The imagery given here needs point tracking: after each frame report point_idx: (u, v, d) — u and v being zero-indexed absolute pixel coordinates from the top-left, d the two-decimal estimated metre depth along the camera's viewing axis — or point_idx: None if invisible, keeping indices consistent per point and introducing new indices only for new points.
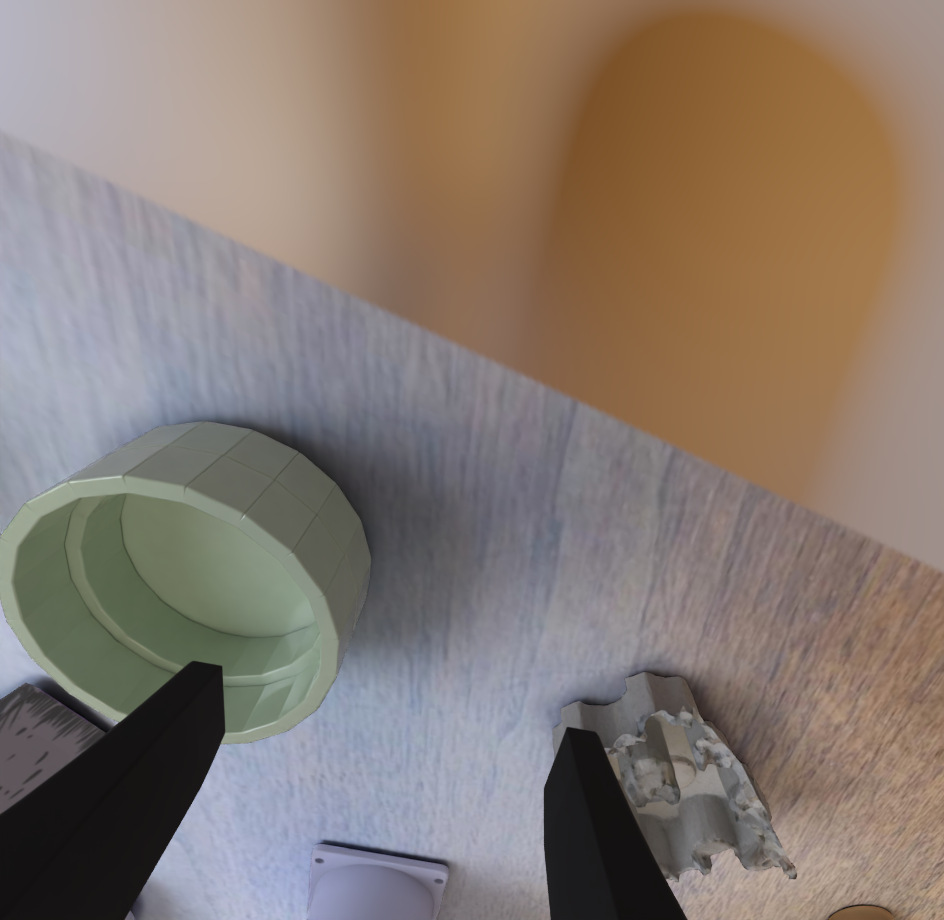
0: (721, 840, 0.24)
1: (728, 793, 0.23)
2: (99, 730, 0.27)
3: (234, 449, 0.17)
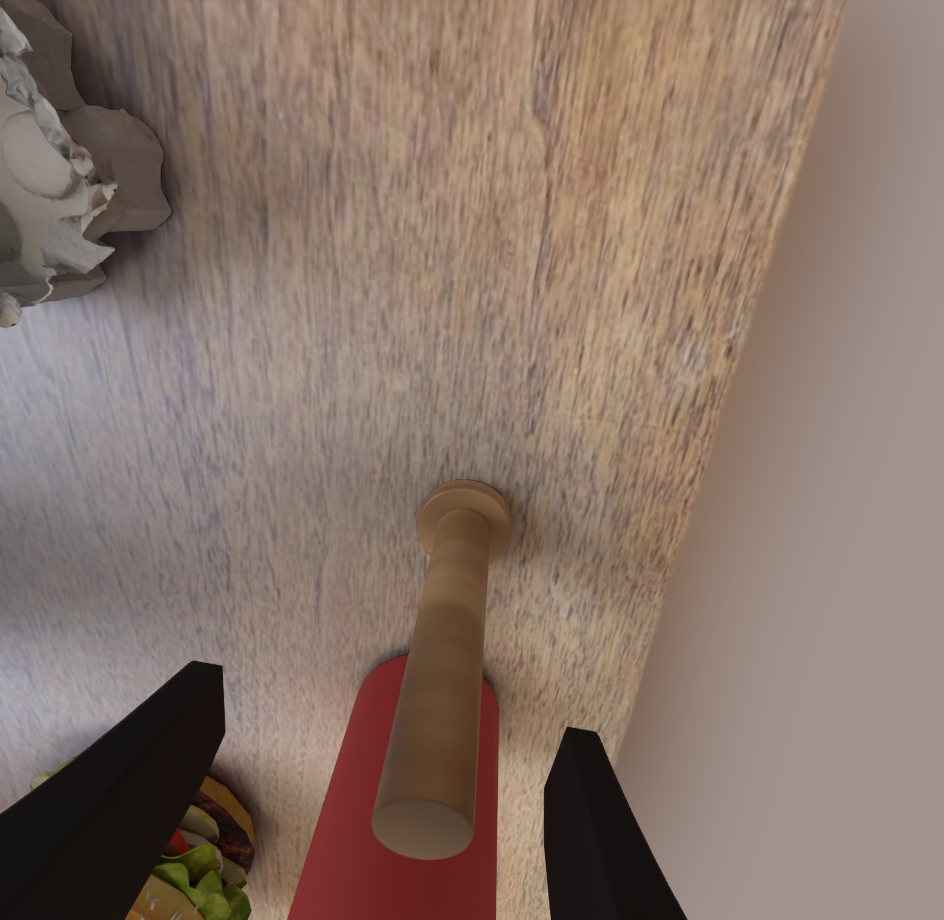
0: (72, 217, 0.14)
1: None
2: None
3: None
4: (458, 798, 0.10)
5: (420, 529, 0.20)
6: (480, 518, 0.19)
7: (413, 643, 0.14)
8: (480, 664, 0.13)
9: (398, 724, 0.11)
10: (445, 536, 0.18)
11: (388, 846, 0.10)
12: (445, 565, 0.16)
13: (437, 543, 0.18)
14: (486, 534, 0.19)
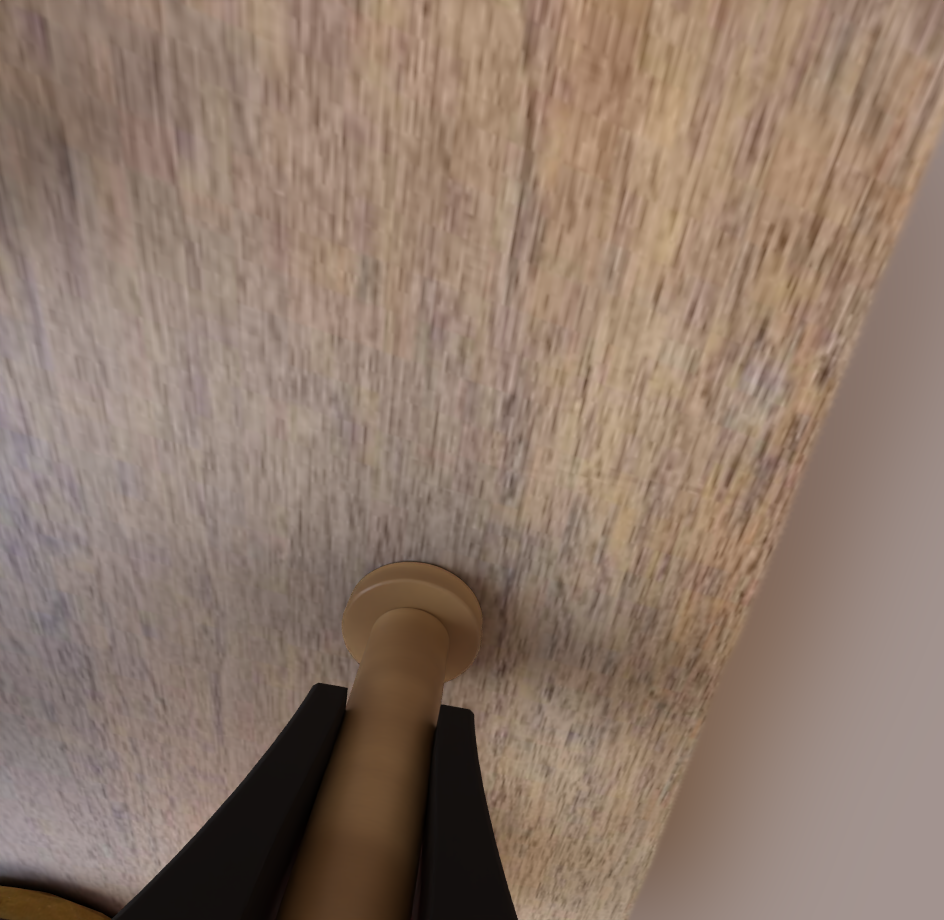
0: None
1: None
2: None
3: None
4: None
5: (347, 634, 0.13)
6: (433, 623, 0.13)
7: None
8: None
9: None
10: (373, 663, 0.11)
11: None
12: (361, 733, 0.10)
13: (360, 674, 0.11)
14: (440, 651, 0.12)
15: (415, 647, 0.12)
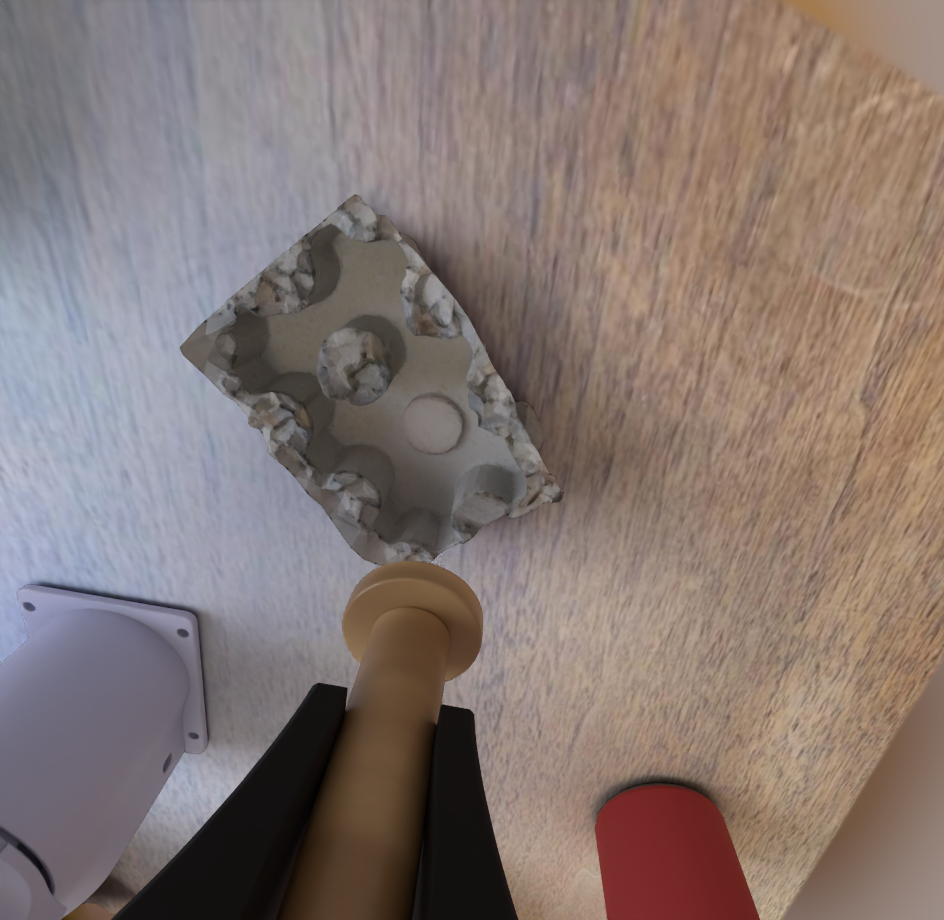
0: (486, 492, 0.18)
1: None
2: None
3: None
4: None
5: (348, 633, 0.13)
6: (434, 622, 0.13)
7: None
8: None
9: None
10: (374, 662, 0.11)
11: None
12: (361, 732, 0.10)
13: (361, 674, 0.11)
14: (441, 650, 0.12)
15: (416, 646, 0.12)
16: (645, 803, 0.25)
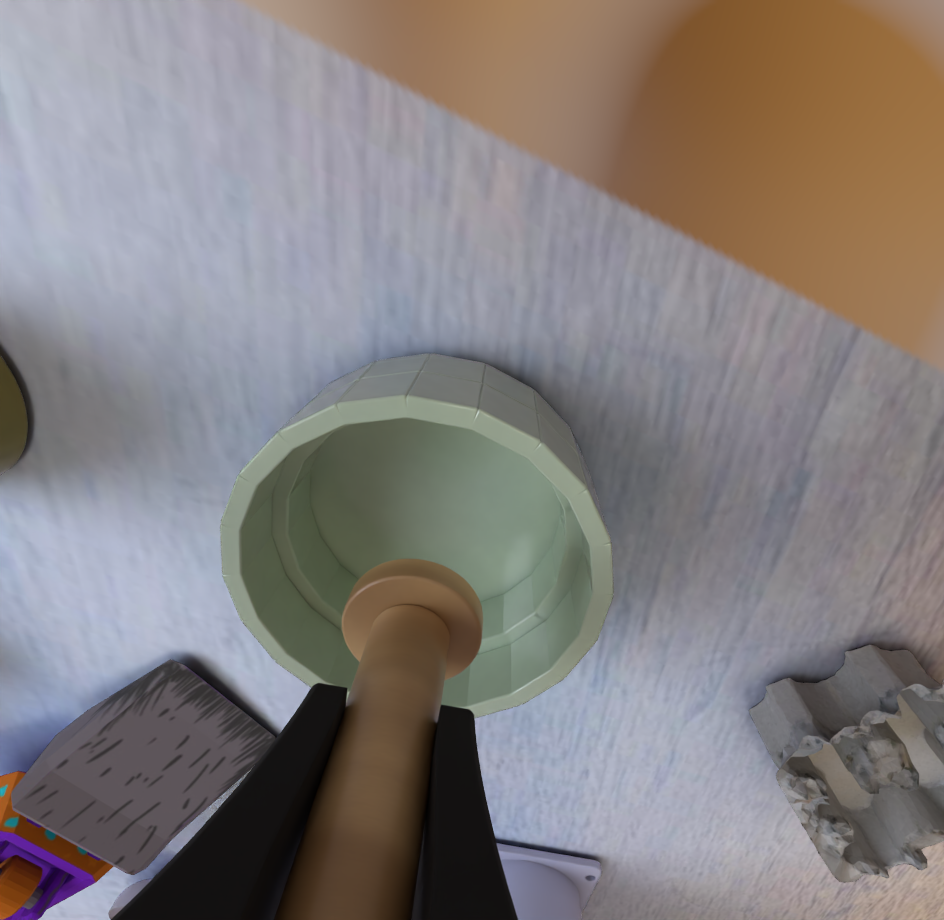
0: (940, 831, 0.22)
1: None
2: (242, 712, 0.24)
3: (486, 378, 0.15)
4: None
5: (347, 631, 0.13)
6: (433, 620, 0.12)
7: None
8: None
9: None
10: (373, 660, 0.11)
11: None
12: (360, 730, 0.10)
13: (360, 671, 0.11)
14: (441, 648, 0.12)
15: (415, 644, 0.12)
16: None
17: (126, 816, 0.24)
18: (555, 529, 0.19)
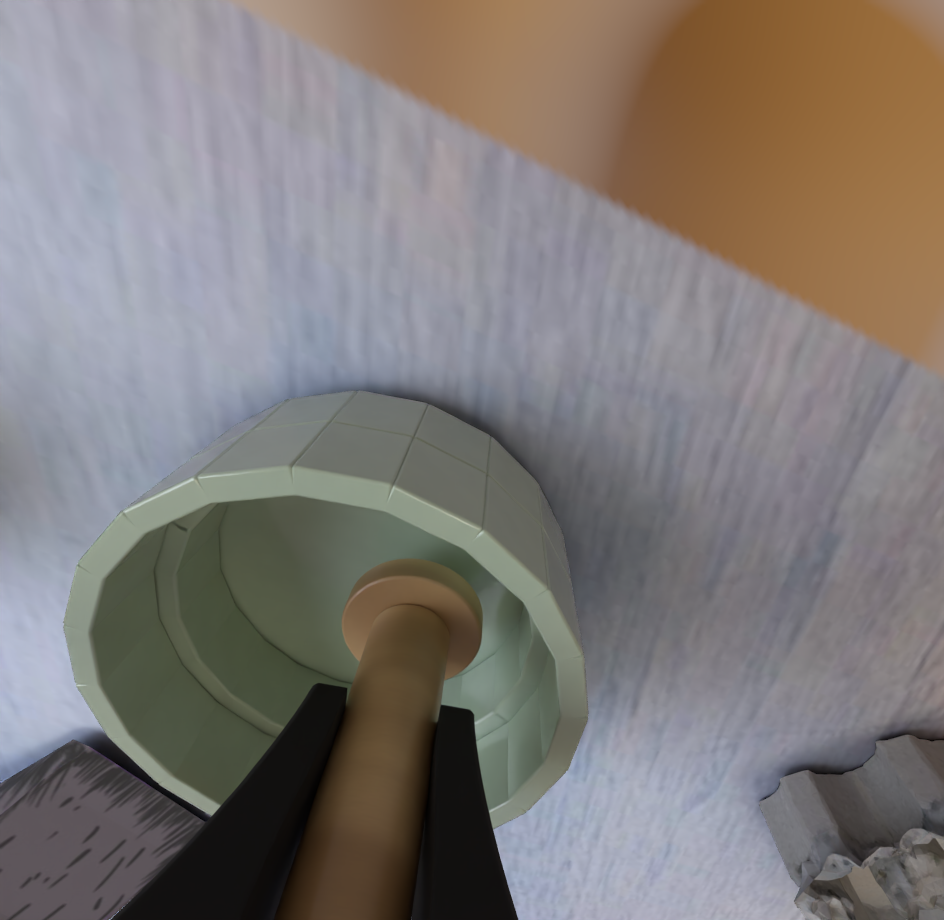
0: None
1: None
2: (163, 797, 0.21)
3: (422, 428, 0.11)
4: None
5: (347, 631, 0.13)
6: (433, 620, 0.13)
7: None
8: None
9: None
10: (373, 660, 0.11)
11: None
12: (360, 730, 0.10)
13: (360, 671, 0.11)
14: (441, 648, 0.12)
15: (415, 644, 0.12)
16: None
17: None
18: (523, 602, 0.15)
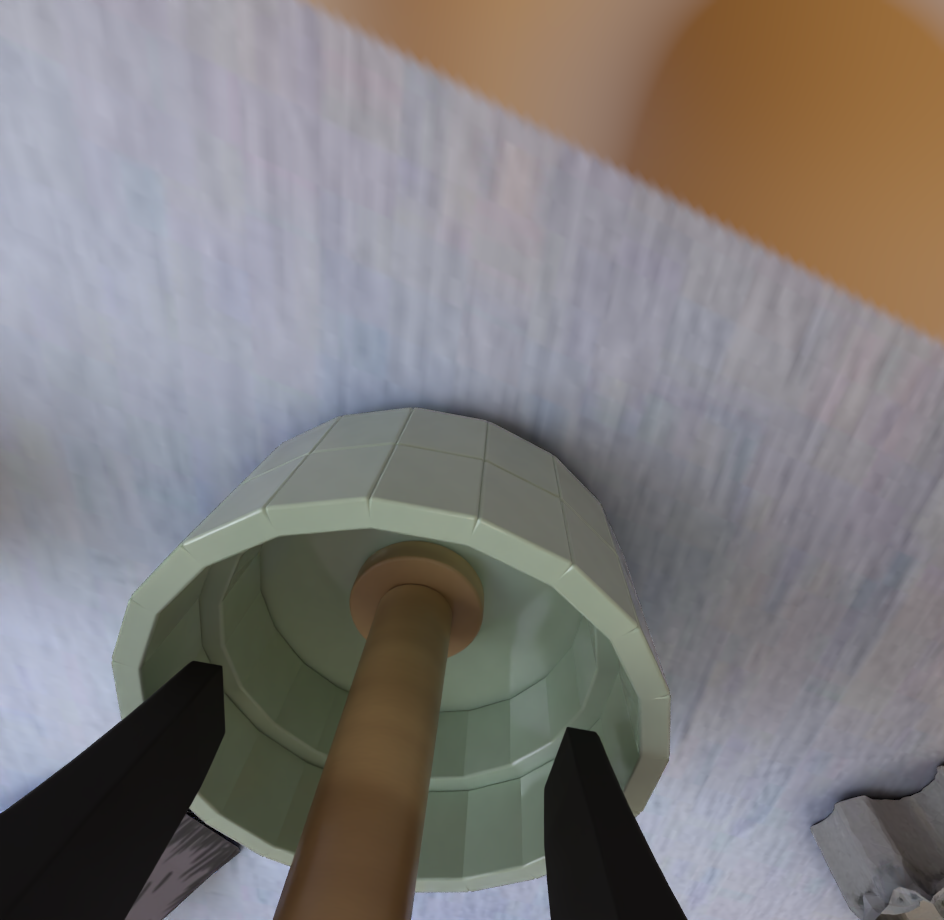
0: None
1: None
2: (192, 820, 0.20)
3: (490, 450, 0.11)
4: None
5: (354, 610, 0.14)
6: (437, 599, 0.13)
7: (291, 869, 0.08)
8: (404, 918, 0.08)
9: None
10: (380, 634, 0.12)
11: None
12: (369, 695, 0.10)
13: (368, 645, 0.12)
14: (444, 625, 0.13)
15: (420, 620, 0.12)
16: None
17: None
18: (577, 626, 0.15)
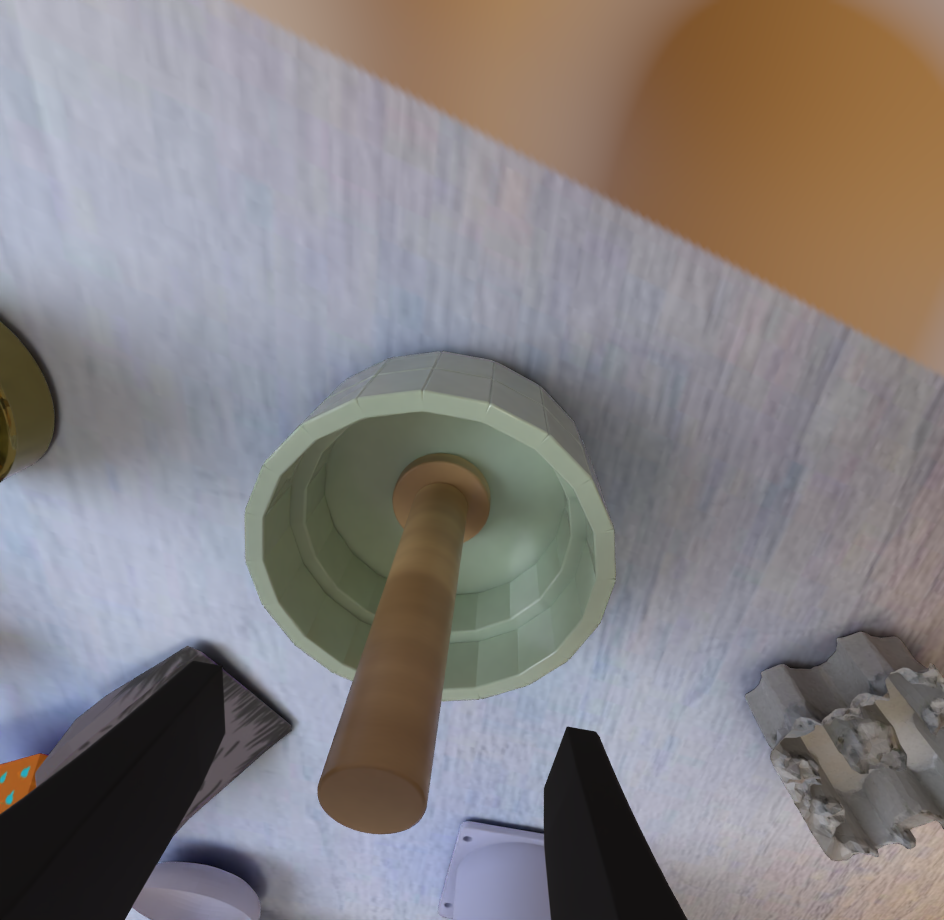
0: (929, 812, 0.23)
1: None
2: (256, 698, 0.25)
3: (496, 375, 0.16)
4: (409, 766, 0.09)
5: (396, 504, 0.19)
6: (457, 492, 0.18)
7: (377, 613, 0.13)
8: (446, 634, 0.13)
9: (352, 692, 0.11)
10: (419, 509, 0.17)
11: (337, 819, 0.10)
12: (415, 536, 0.15)
13: (410, 516, 0.17)
14: (463, 508, 0.18)
15: (446, 501, 0.17)
16: None
17: None
18: (559, 520, 0.20)
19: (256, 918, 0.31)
